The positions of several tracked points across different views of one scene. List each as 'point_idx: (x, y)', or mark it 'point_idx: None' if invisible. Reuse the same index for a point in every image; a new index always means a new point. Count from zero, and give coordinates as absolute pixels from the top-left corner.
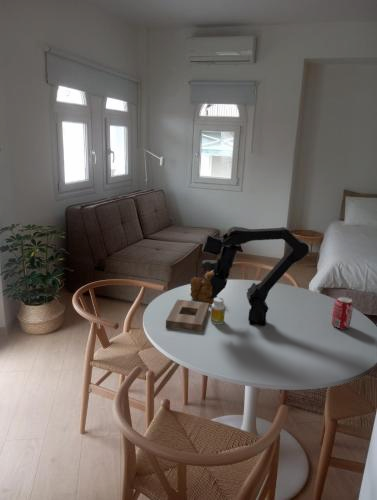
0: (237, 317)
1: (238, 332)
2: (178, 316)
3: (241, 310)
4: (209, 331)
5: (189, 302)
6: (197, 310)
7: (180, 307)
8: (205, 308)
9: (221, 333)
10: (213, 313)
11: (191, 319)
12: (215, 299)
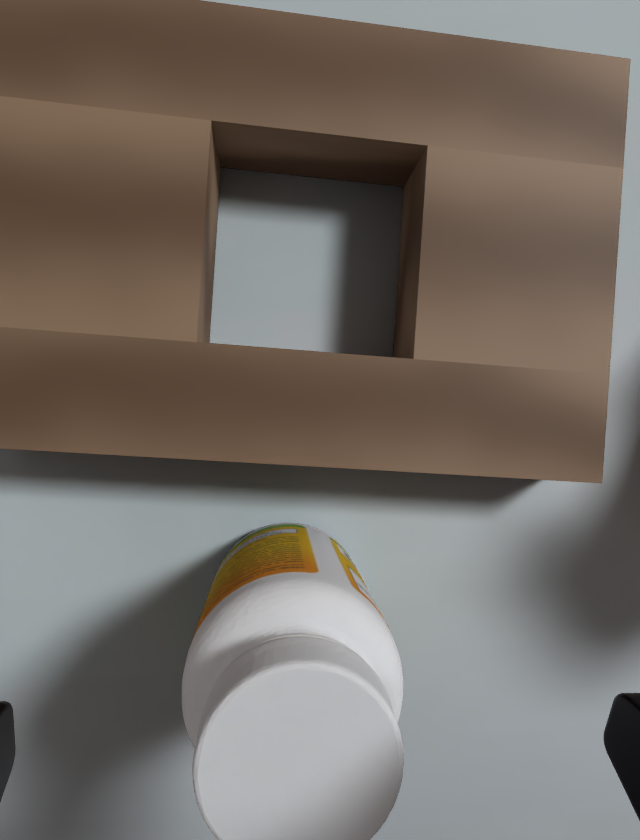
0: (425, 800)
1: (82, 837)
2: (135, 125)
3: (599, 830)
4: (40, 529)
5: (570, 227)
6: (405, 353)
7: (401, 124)
8: (436, 451)
9: (22, 660)
10: (215, 589)
11: (82, 303)
12: (288, 701)
